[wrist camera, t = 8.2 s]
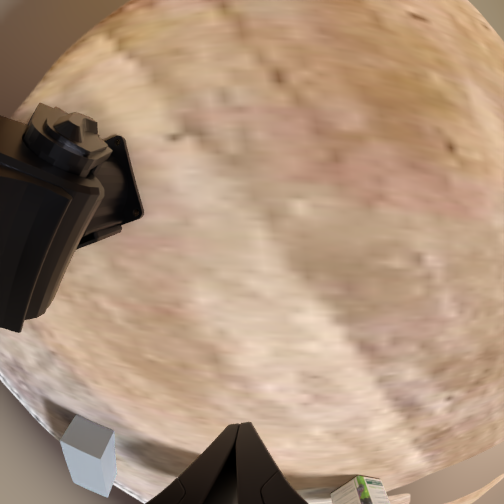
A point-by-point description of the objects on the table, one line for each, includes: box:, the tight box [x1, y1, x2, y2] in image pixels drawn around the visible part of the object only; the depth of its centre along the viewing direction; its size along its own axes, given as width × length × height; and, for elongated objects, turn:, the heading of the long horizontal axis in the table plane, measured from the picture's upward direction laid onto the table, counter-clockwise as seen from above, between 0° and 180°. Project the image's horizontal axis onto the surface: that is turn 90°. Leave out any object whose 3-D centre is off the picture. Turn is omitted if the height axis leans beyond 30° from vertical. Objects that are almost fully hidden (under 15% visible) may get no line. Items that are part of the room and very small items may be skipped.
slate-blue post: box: [60, 415, 117, 497], centre depth 24 cm, size 5×5×11 cm
